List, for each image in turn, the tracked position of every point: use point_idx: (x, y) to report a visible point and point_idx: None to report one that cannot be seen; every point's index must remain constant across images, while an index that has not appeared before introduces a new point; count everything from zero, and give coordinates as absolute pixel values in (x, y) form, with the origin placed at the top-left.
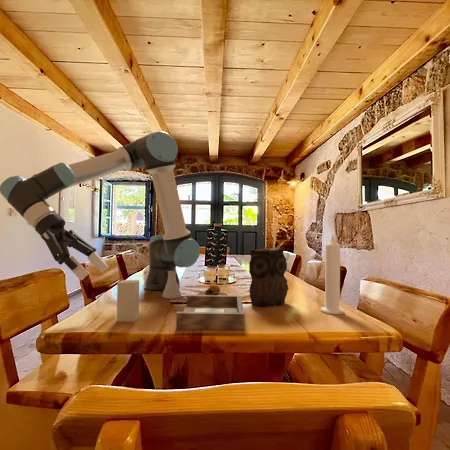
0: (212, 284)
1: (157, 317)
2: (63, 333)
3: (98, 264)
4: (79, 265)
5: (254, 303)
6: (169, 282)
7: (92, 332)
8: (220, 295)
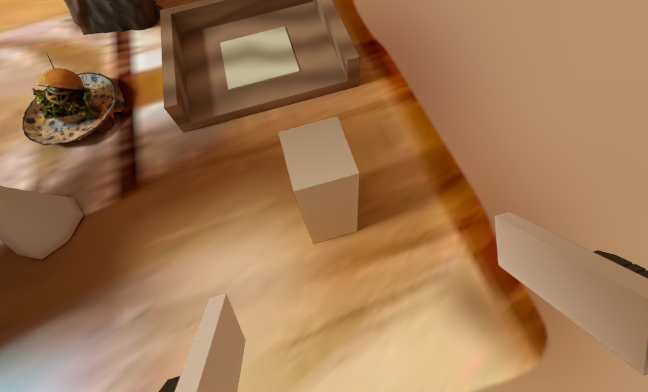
0: (49, 76)
1: None
2: (512, 302)
3: (229, 365)
4: (569, 243)
5: (148, 18)
6: (5, 204)
7: (462, 231)
8: (161, 42)
